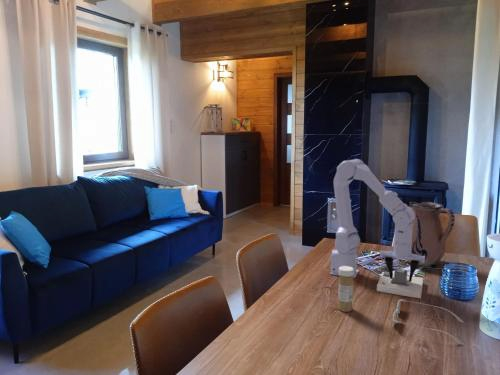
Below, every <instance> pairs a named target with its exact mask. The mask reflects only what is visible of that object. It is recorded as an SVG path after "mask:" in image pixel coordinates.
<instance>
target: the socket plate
mask: <svg viewBox="0 0 500 375" xmlns="http://www.w3.org/2000/svg"><path fill="white" fill-rule="evenodd" d="M409 277H410V275H407V286H404V285H398V284H394V273H393V277H392V279H390V274H389V271H382V272H381V275H380V278H379V280H378V282H377V284H376V292H380V293H387V294H391V295H392V294H393V295H398V296H405V297H409V298H416V299H417V298H418V299H422V293H423V292H422V291H423V283H424V282H423V281H424V277H418V276H414V275H413V276H412V280H411V282H409Z"/></svg>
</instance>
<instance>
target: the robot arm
mask: <svg viewBox="0 0 500 375" xmlns="http://www.w3.org/2000/svg"><path fill="white" fill-rule="evenodd" d="M354 180H358V181H363V182H364V184H366V185H367V186H368V188H370V189H371V190H372V191H373V192H374V193H375V194H376V195H377V196H378V201H379V203H380V204H381V205H382V206H383V207H384V208H385V210H386V211H387V213H389V214H390V215H391V216H392V221H393V223H394V234H393V235H394V236H393V251H392V250H391V251H390V250H388V251H387V250H380V252H379V258H380V259H381V258H384V263H385V265H386V266H387V271H388V272H389V274H390V279H392V277H393V274H394V269H393V268H394V260H402V261H407V260H408V261H411V263H410V262H409V263H410V266H409V276H410V277H409V282H411V280H412V276H413V277H414V274H415V271H416V270H417V269H418V267H419V265H418V264H419V262H421V263H424V262H425V256H420V255H416V254H411V246H412V226H413V223H411V222H413V221H414V219H415V212H414V210H413V209H412V208H411V207H410V206H408V204H406V203H404V202H403V201H402V200H401V199H400V198H399V197H398V196H399V194H398V193H397V191H392V190H387V189H386V188H385V186H384V185H383V184H382V183H381V181H380V180H379V179H378V178H377V176H375V175H374V173H373V172H372V171H371V169H370V168H369V166H368V165H367V164H365V163H364V161H363V160H362V159H359V158H354V159H349V160H343V161H342V162H340V163H339V165H338V166H337V167H336V172H335V175H334V178H333V190H334V191H333V192H334V197H335V206H336V214H337V223H338V228H337V231H336V233H335V240H334V246H335V249H334V248H333V249H332V250H331V256H330V273H329V274H330V275H334V276H339V267H341V266H350V267H352V268H353V269H354V276H353V279H355V278H356V277H357V275H358V273H359V269H357V262H358V261H357V260H358V250H357V249H358V247H359V246H360V243H361V238H360V236H359V234H358V230H357V228H356V227H355V226H354V220H353V213H352V204H351V198H350V197H351V196H350V187H349V185H350V184H351V183H352V181H354ZM408 261H407V262H408Z"/></svg>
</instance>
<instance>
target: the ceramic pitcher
mask: <svg viewBox="0 0 500 375" xmlns="http://www.w3.org/2000/svg"><path fill="white" fill-rule="evenodd" d="M409 207H411V208H412V209H413V210H414V212H415V219H414V221H413V222H411V223H413V226H412V246H411V254H416V255H420V256H425V262H424V263H421V262H419V264H418V266H421V267H429V266H430V267H431V266H434V265H436V264H438V263H439V262H440V261H441V260H442V259H443V258H444V256H445V253H446V248H447V246H446V244H447V243H446V240H447V238H448V237H449V235H450V234H451V231H452V230H453V228H454V226H455V221H456V220H455V214H454V213H453V211H452V210H451V209H450V208H446V207H444V205H443V204H441V203H437V202H432V201H422V202H417V201H410V202H409ZM443 212H445V213H446V214H447V215H448V217H449V218H448V220H449V221H448V224H447V226H446V229H445V231H444V228H443V224H442V220H441V216H440V214H441V213H443ZM406 261H407V262H408V263H411V261H408V260H406Z"/></svg>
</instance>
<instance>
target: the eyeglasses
mask: <svg viewBox="0 0 500 375" xmlns="http://www.w3.org/2000/svg"><path fill="white" fill-rule="evenodd" d="M401 302H404V303H405V302H408V303H409V302H410V303H411V301H408V300H406V299H398V301H397V304H396V309H395V311H394V312H393V314H392V328H394V327H395V324H398V323H399V324H403V325H404V324H405V325H408V326H410V324H409V323H404V322H400V321H398V320H397V317H399V314H400V311H401ZM413 304H417V302H415V301H413ZM418 304H422V305H423V303H422V302H421V303H420V302H418ZM424 305H426V306H427V305H428V304H427V303H426V304H425V303H424ZM429 306H431V307H433V305H431V304H429ZM434 307H435V308H438V309H439V308H440V309H442V310H444V311H447V312H449V313H450V314H451V315H453V316H454V317H455V318H456V319H457V322H460V323H463V324H464V322H465V321H463V320H462V319H461V318H460V317H459V316H458V315H456V314H455V313H453V312H452V311H450V310H449V309H446V308H444V307H441V306H436V305H434ZM411 326H412V327H415V325H413V324H411ZM416 327H418V328H422V329H427V330H432V331H436V332H437V331H438V332H439V333H440V332H441V333H444V334H446V335H448V336H449V337H450V338H452V339H453V340H455V342H456V344H457V345H460V346H464V345H465V344H464V343H463V342H462V341H461V340H459V339H458V338H457V337H455V336H454V335H452V334H450V333H448V332H446V331H443V330H440V329H436V328H435V329H434V328H427V327H423V326H417V325H416Z"/></svg>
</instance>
